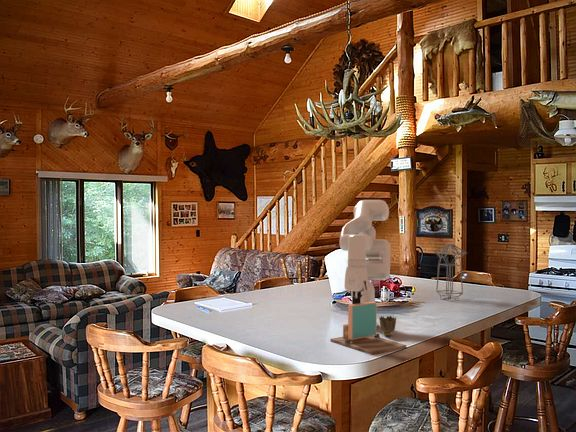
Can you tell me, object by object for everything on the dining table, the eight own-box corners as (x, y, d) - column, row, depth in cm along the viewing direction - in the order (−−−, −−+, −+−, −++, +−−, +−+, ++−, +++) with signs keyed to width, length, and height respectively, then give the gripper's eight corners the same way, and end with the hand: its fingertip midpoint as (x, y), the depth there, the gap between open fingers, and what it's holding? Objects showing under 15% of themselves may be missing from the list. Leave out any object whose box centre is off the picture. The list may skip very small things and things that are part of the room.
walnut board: (330, 341, 220) (330, 324, 220) (363, 335, 231) (363, 319, 231) (372, 354, 199) (372, 336, 199) (406, 347, 210) (406, 330, 210)
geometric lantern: (431, 298, 328) (432, 243, 328) (450, 297, 334) (451, 243, 335) (448, 302, 313) (449, 244, 314) (468, 301, 320) (469, 244, 320)
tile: (348, 304, 214) (351, 305, 212) (372, 301, 222) (376, 302, 220) (348, 338, 214) (351, 339, 212) (372, 334, 222) (376, 335, 221)
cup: (394, 333, 234) (394, 315, 234) (398, 337, 227) (398, 319, 227) (377, 333, 234) (377, 315, 234) (381, 337, 227) (381, 319, 226)
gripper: (338, 263, 224) (338, 305, 223) (362, 265, 212) (361, 310, 211) (351, 262, 228) (351, 304, 228) (375, 264, 216) (375, 309, 215)
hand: (356, 307), depth 219 cm, fingers closed
